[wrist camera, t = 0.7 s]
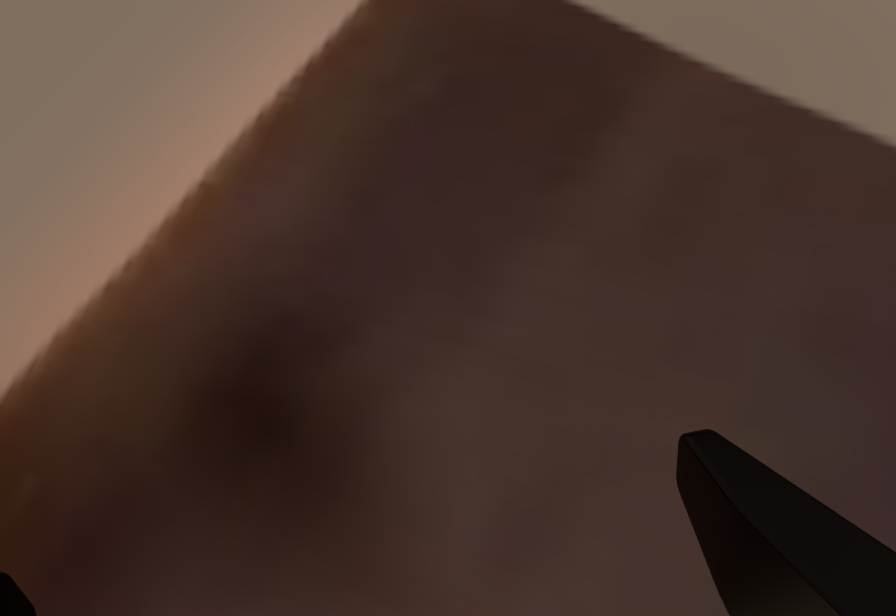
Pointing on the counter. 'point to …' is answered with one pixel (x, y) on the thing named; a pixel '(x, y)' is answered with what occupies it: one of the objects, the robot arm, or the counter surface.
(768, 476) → the robot arm
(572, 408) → the counter surface
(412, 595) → the counter surface
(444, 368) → the counter surface
